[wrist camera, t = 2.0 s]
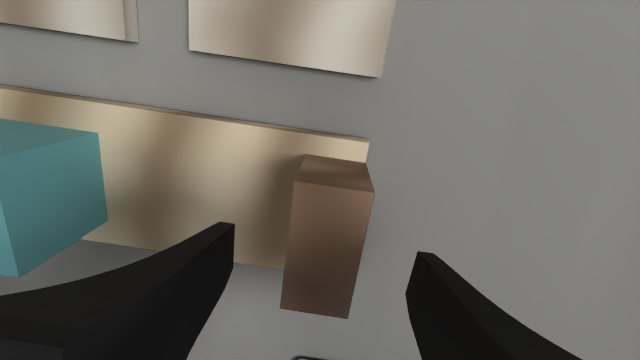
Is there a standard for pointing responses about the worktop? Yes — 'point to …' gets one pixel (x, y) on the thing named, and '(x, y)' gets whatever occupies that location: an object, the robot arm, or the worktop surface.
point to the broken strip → (239, 28)
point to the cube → (46, 192)
